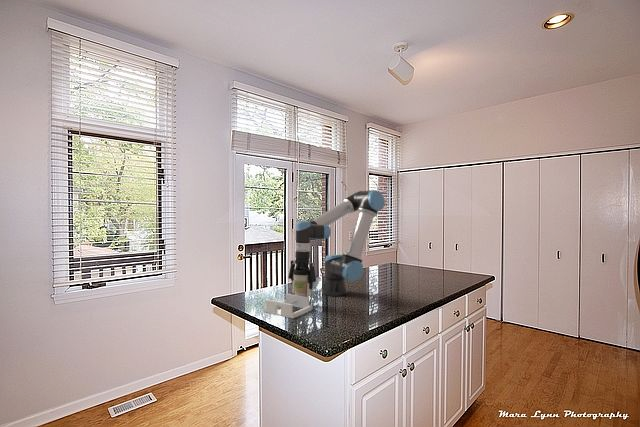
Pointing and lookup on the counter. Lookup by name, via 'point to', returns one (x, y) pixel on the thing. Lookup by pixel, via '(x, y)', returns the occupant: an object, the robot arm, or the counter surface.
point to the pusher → (297, 301)
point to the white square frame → (285, 308)
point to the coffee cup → (301, 282)
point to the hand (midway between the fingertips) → (301, 293)
